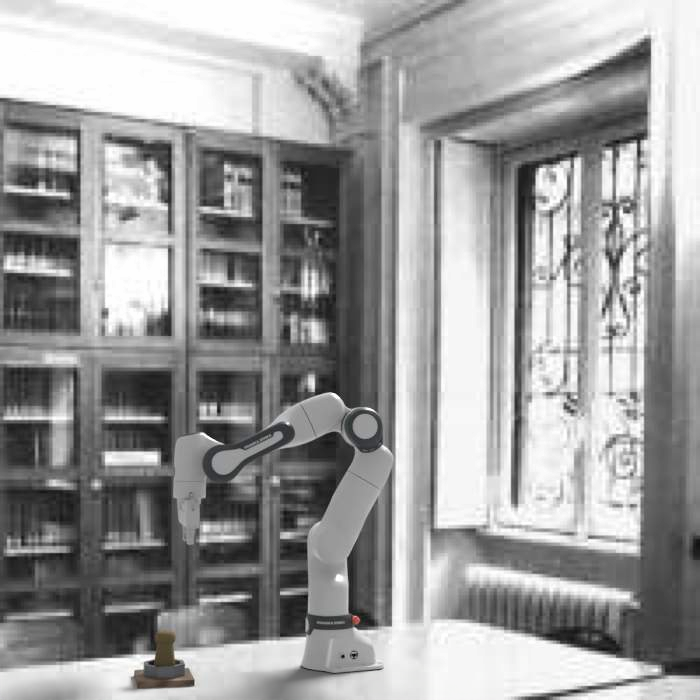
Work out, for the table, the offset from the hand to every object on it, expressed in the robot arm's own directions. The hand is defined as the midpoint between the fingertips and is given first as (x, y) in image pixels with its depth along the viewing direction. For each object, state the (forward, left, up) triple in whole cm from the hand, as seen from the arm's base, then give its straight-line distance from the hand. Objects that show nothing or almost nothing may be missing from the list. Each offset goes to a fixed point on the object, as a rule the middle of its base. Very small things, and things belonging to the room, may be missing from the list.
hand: (188, 542), depth 297 cm
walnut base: (+7, +16, -33) cm, 37 cm away
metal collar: (+7, +16, -32) cm, 36 cm away
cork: (+7, +16, -32) cm, 36 cm away
